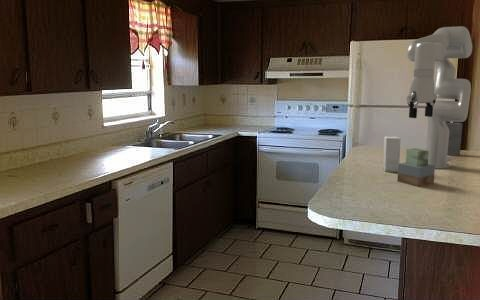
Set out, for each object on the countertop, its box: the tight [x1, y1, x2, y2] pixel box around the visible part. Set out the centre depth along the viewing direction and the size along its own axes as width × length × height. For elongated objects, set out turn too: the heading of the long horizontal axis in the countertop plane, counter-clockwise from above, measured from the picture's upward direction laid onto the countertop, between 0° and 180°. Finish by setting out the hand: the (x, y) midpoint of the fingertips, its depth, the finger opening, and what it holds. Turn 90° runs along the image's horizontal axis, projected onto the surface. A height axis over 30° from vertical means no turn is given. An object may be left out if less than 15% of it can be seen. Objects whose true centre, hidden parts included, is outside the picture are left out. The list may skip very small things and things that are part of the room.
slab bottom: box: [396, 172, 435, 188], centre depth 186 cm, size 10×10×4 cm
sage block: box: [405, 147, 429, 166], centre depth 185 cm, size 6×6×6 cm
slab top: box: [397, 161, 436, 178], centre depth 185 cm, size 10×10×4 cm
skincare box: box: [382, 135, 401, 173], centre depth 208 cm, size 8×7×16 cm
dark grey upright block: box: [444, 121, 463, 157], centre depth 248 cm, size 15×6×20 cm, turn 64°
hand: (420, 117), depth 182 cm, fingers open, 9 cm apart
